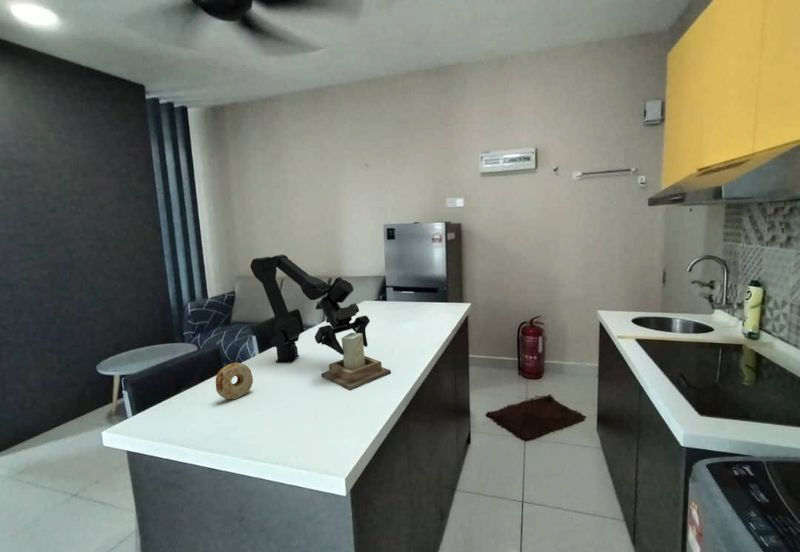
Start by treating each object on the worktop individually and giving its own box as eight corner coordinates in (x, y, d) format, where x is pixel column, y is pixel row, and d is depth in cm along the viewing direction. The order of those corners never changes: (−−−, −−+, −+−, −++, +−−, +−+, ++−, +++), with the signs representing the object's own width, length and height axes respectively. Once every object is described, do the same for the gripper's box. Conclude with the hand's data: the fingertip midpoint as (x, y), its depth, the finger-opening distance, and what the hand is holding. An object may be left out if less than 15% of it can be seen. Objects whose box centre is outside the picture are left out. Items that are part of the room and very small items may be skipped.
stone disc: (222, 405, 108) (217, 371, 106) (216, 402, 110) (211, 369, 109) (256, 391, 115) (252, 360, 114) (250, 388, 118) (246, 357, 116)
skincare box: (356, 376, 119) (352, 338, 118) (344, 374, 121) (340, 337, 119) (366, 368, 125) (363, 333, 123) (354, 367, 127) (351, 332, 125)
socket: (321, 376, 124) (320, 364, 123) (361, 361, 134) (360, 351, 134) (349, 390, 112) (348, 377, 111) (390, 373, 122) (390, 361, 122)
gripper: (315, 302, 117) (338, 344, 110) (364, 292, 129) (387, 329, 122) (305, 323, 123) (326, 363, 117) (352, 311, 136) (374, 347, 129)
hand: (355, 350), depth 121 cm, fingers open, 9 cm apart
